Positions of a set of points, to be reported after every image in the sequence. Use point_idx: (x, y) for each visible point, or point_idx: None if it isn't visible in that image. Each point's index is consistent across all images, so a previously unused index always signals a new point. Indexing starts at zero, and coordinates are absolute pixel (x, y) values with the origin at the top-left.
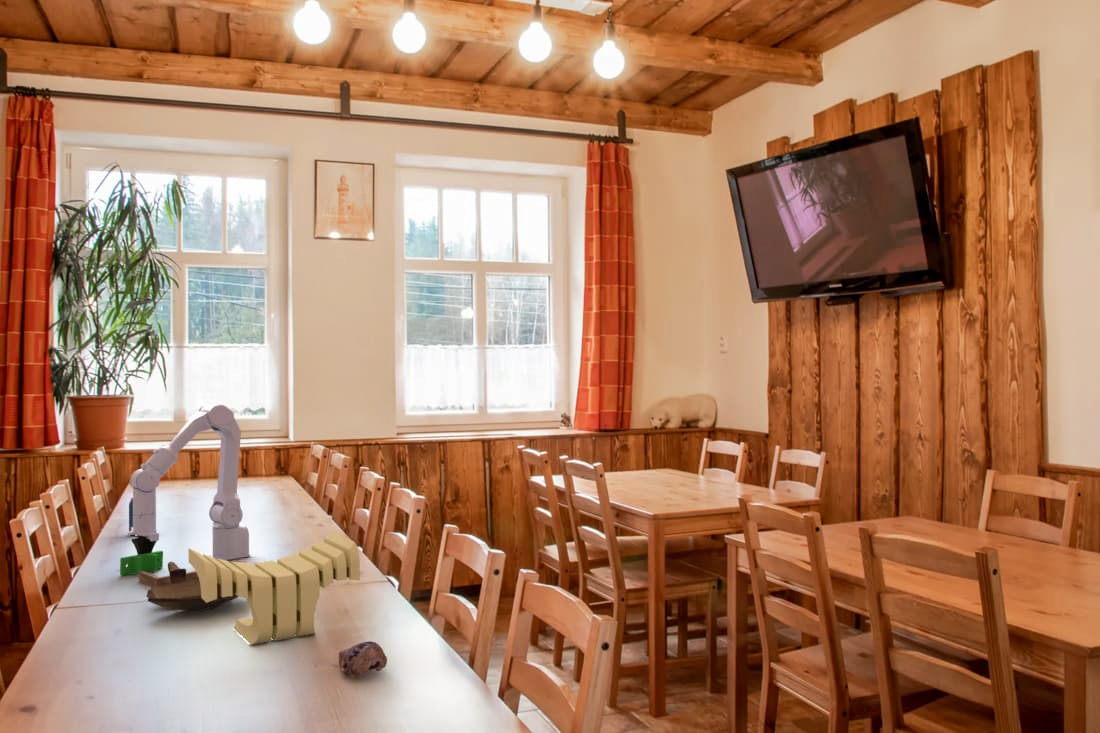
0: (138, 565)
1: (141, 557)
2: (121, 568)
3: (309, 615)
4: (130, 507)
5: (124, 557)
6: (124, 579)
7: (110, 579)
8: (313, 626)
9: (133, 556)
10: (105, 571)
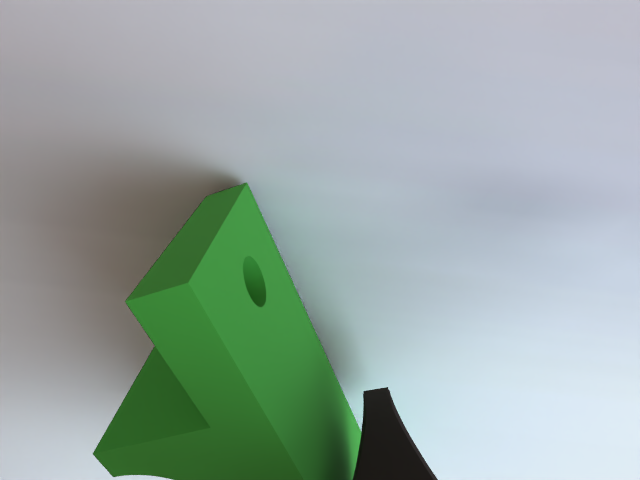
0: (136, 381)
1: (199, 475)
2: (201, 221)
3: None
4: None
5: (195, 332)
6: (42, 193)
7: (100, 65)
8: None
9: (222, 427)
10: (581, 73)
